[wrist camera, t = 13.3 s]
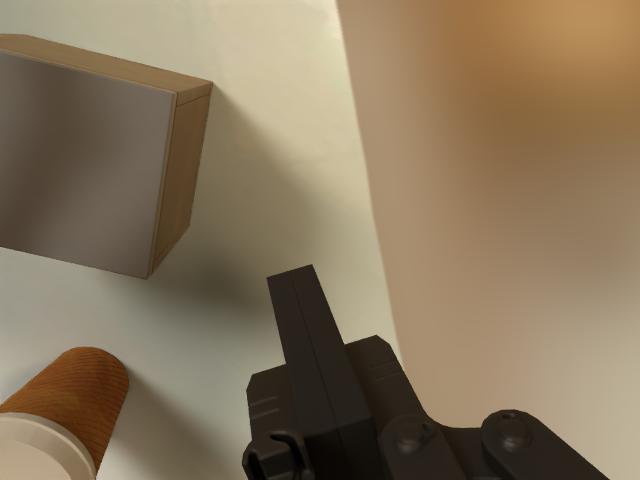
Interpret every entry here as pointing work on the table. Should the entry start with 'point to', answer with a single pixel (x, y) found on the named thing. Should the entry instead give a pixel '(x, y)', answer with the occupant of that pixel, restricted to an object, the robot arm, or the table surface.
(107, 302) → the table surface
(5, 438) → the disposable coffee cup
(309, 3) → the table surface
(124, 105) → the lid
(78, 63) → the box
